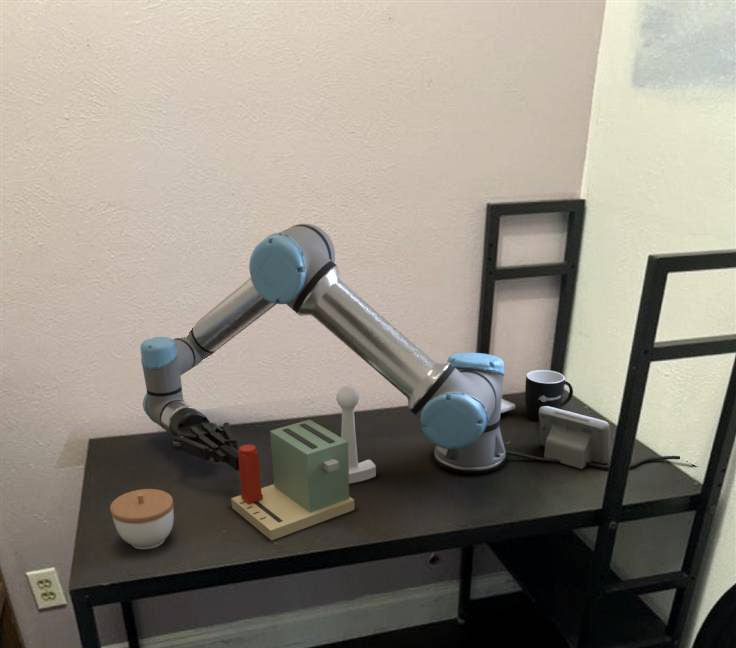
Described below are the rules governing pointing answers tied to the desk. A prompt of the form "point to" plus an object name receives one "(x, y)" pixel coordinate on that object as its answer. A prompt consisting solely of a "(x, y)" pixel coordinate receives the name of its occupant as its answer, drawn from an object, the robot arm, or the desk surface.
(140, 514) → the trinket box
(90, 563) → the desk surface
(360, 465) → the joystick
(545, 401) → the mug
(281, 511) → the toaster
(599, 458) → the digital clock
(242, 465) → the slider
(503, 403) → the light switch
